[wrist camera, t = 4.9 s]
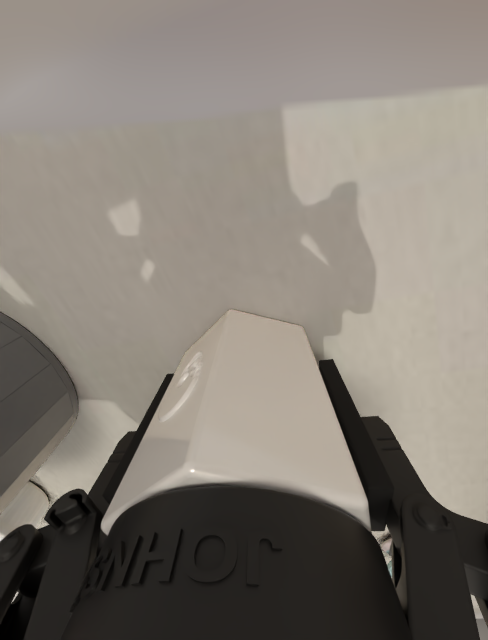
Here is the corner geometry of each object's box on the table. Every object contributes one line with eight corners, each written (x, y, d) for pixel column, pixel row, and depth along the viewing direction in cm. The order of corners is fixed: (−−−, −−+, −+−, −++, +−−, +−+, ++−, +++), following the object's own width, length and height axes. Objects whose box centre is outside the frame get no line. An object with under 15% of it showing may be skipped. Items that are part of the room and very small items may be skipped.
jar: (253, 278, 13) (231, 657, 2) (342, 363, 15) (553, 757, 4) (163, 368, 16) (-27, 697, 5) (248, 427, 18) (233, 743, 8)
